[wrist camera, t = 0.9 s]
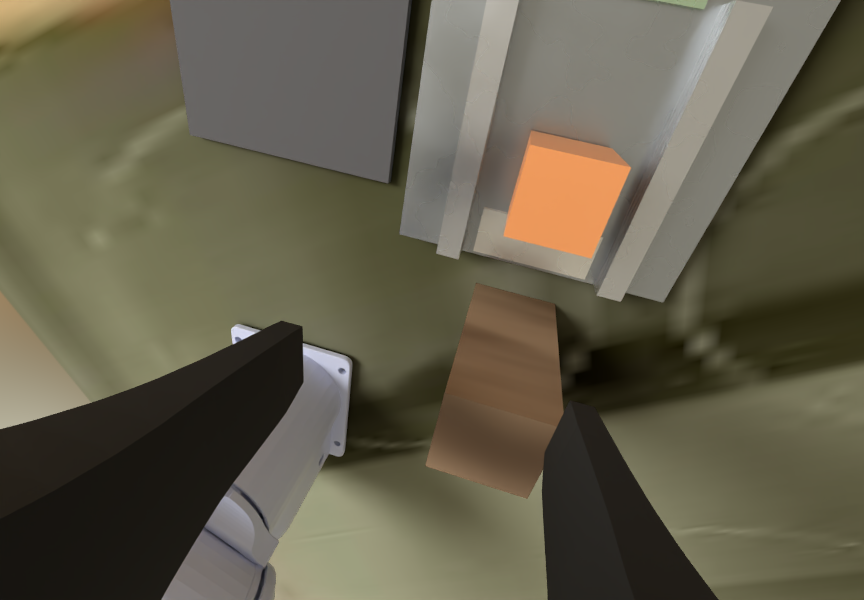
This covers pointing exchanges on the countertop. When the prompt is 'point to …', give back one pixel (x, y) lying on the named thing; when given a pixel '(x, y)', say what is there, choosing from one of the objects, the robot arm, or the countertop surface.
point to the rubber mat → (296, 77)
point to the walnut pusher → (501, 393)
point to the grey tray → (598, 119)
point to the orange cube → (565, 193)
